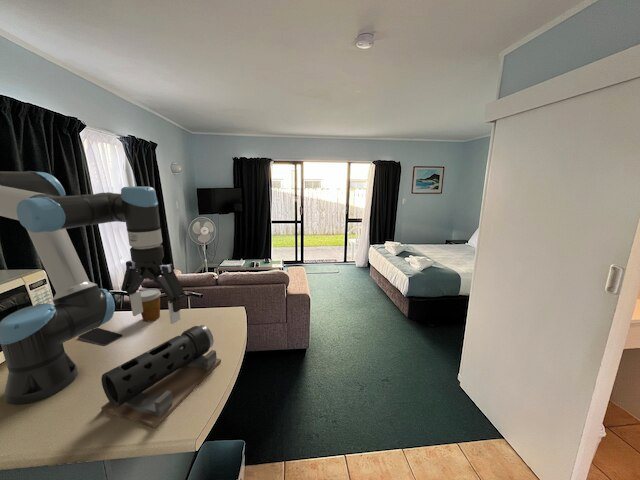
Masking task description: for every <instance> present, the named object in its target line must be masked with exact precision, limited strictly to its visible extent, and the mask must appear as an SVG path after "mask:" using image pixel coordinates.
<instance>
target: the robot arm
mask: <svg viewBox="0 0 640 480" xmlns="http://www.w3.org/2000/svg"><path fill="white" fill-rule="evenodd" d="M0 217H4V218H8V219H11V220H16V221H18V222H19V223H20V225H21V226H22V227H23V228H24V229H25V230H26V231H27V233H28V236H29V238H30V240H31V242H32V244H33V246H34V248H35V251H36V253H37V255H38V257H39V259H40V261H41V263H42V265H43V267H44V270H45V272H46V274H47V276H48V279H49V280H50V282H51V284H52V286H53V289H54V290H55V295H54V296H53V298H52V302H53V304H52V303H49V302H47V303H45V302H44V303H38V304H35V305H30V306H26V307H24V308H20V309H17V310H15V311H14V312H12V313H10V314H8V315H7V316H5V317H3V318H2V320H1V321H0V347H1V351H2V353H3V357H4V361H5V363H6V367H7V370H8V375H7V380H6V384H5V389H4V394H5V399H6V401H7V403H9V404H11V405H12V404H13V405H23V404H25V405H26V404H29V403H33V402H37V401H40V400H42V399H46V398H48V397H50V396H52V395H54V394H56V393H58V392H60V391H61V390H63V389H65V388H66V387H68V386H69V385H70V384H71V383H72V382H74V380H75V379H76V378H77V376H78V367H77V365H76V363H75V362H74V361H73V360H72V359H71V358H70V356H69V355H68V354H67V353H66V351H65V345H64V343H66V342H67V341H70V340H72V339H75V338H78V336H80V335H82V334H84V333H86V332H88V331H90V330H92V329H94V328H100V327H101V326H102V325H104V324H106V323H108V322H110V320H111V319H112V318H113V317H114V313H115V309H116V305H115V300H114V297H113V295H112V294H111V292H109V290H107V288H99V286H98V283H94V282H91V281H90V279H89V278H88V275H87V272H86V270H85V268H84V266H83V265H82V262H81V260H80V258H79V255H78V252H77V251H76V248H75V247H74V245H73V242H72V240H71V238H70V235H69V233H68V231H67V229H73V228H78V227H79V228H80V227H86V226H93V225H94V226H95V225H100V224H106V223H107V224H108V223H114V222H120V223H125V226H126V231H127V238H128V244H129V246H130V249H129V253H130V260H128V261H126V262H125V268H126V269H125V273H124V276H123V281H122V283H121V284H122V285H121V291H122V292H126V293H127V294H128V297H129V303H130V306H131V313H132V316H133V317H136V316H138V315H140V314H141V313H142V312H143V307H142V300H141V294H140V291H141V290H140V287H141V286H142V284H143V283H144V280H149V281H153V282H154V283H156V284H157V285H158V286H159V287H160V289H161V290H162V291H163V293H164V294H165V295H166V297H167V298H168V300H169V301H167V305H168V306H167V307H168V312H169V314H168V315H169V320H170V324H171V325H174V324H175V323H177V322H179V321H181V313H180V311H181V309H182V307H181V301H180V300H182V299H184V298H186V296H187V294H186V292H185V290H184V288H183V287H182V284H181V283H180V281H179V279H178V277H177V274H176V273H175V269H174V266H173V264H172V263H169V264H163V259H164V258H165V253H164V246H163V245H162V243H163V237H162V228H161V223H160V222H161V221H160V213H159V201H158V197H157V193H156V190H155V188H153V187H152V186H138V185H137V186H123V187H121V189H120V193H116V192H109V191H108V192H107V191H106V192H99V193H94V194H93V193H92V194H77V195H67V194H66V191H65V188H64V187H63V185H62V184H61V182H60V181H59V180H58V179H57V178H56V177H55V176H54V175H52V174H50V173H47V172H43V171H32V170H27V171H0Z"/></svg>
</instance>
